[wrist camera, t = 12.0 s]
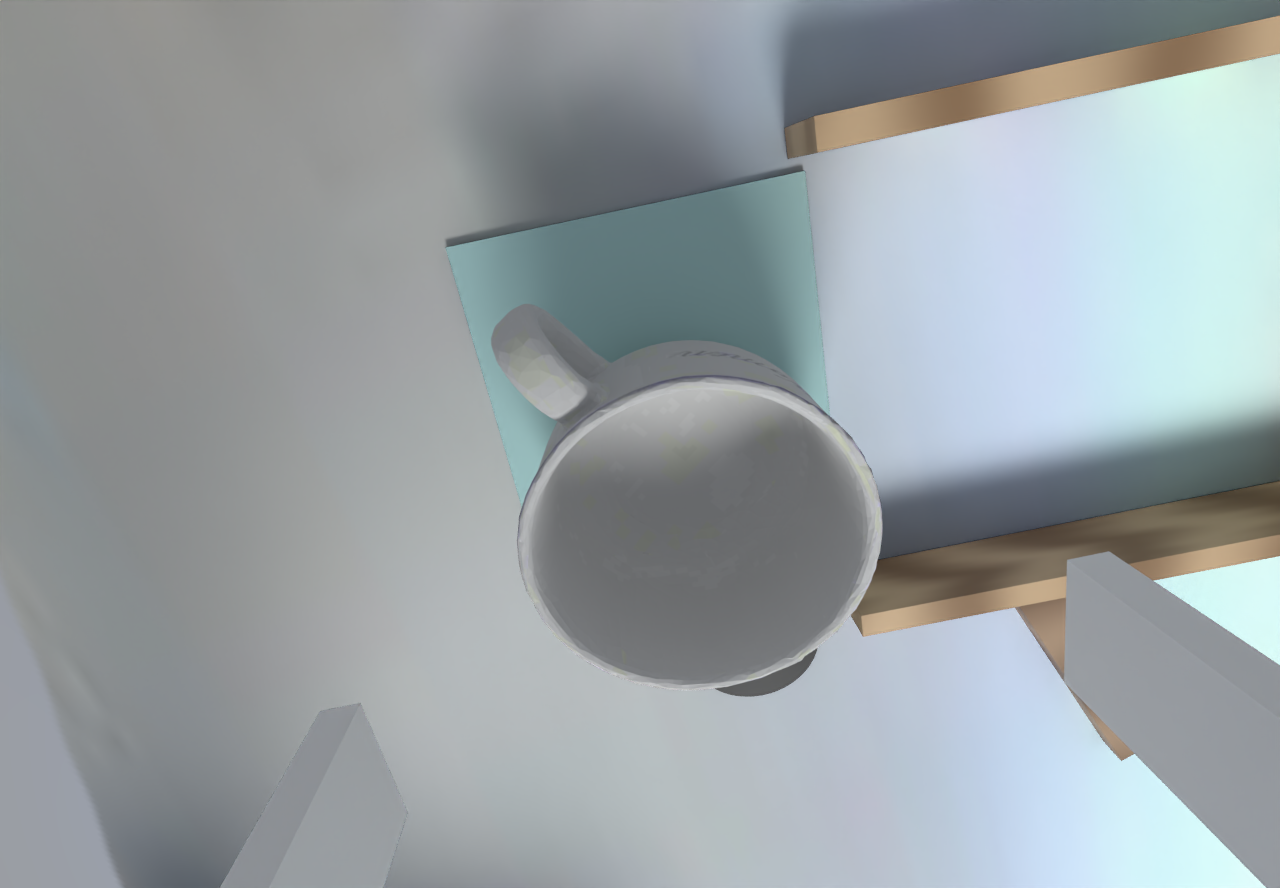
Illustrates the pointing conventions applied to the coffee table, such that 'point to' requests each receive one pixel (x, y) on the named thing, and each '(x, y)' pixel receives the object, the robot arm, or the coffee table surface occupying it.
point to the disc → (771, 680)
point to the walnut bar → (1050, 635)
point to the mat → (652, 290)
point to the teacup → (686, 508)
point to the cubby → (1138, 537)
